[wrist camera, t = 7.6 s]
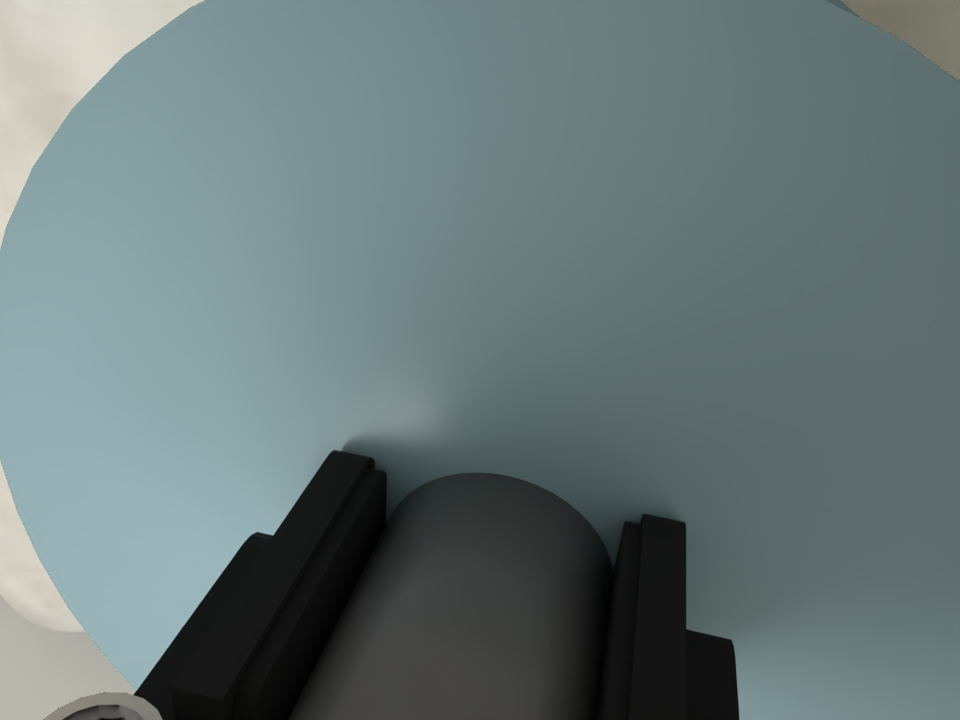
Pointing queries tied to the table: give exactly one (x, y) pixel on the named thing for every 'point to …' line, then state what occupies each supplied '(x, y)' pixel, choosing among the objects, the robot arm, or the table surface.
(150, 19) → the table surface
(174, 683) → the robot arm
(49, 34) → the table surface
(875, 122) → the squat blue cylinder
